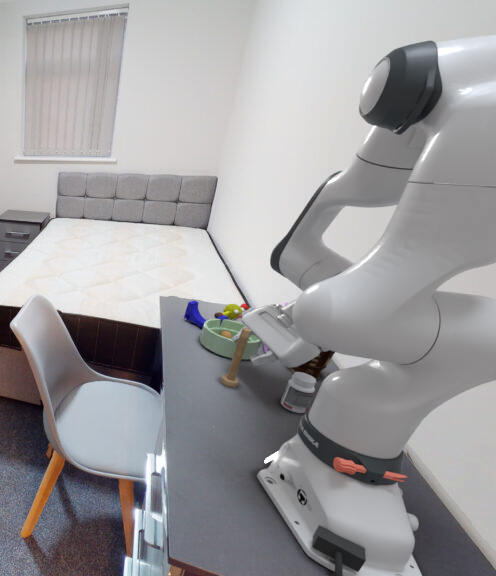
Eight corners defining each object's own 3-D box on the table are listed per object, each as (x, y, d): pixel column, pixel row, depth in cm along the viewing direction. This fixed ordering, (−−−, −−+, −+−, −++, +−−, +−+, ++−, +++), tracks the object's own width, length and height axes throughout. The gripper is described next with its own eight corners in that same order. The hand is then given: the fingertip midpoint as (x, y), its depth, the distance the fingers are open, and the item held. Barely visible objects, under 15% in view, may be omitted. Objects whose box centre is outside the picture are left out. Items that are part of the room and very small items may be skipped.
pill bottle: (310, 415, 84) (323, 384, 81) (286, 412, 85) (299, 381, 81) (298, 401, 88) (310, 372, 85) (276, 398, 89) (287, 369, 86)
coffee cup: (311, 364, 103) (328, 323, 98) (334, 382, 95) (354, 339, 90) (278, 362, 104) (293, 321, 99) (298, 380, 96) (316, 336, 91)
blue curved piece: (225, 332, 118) (231, 316, 116) (216, 335, 117) (222, 319, 114) (192, 314, 128) (197, 299, 125) (183, 317, 126) (188, 302, 124)
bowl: (263, 365, 102) (270, 346, 100) (204, 355, 106) (209, 337, 104) (247, 340, 115) (253, 323, 113) (195, 332, 119) (200, 315, 117)
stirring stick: (238, 389, 92) (257, 334, 86) (222, 385, 93) (240, 331, 87) (235, 380, 95) (253, 327, 89) (219, 377, 96) (236, 324, 90)
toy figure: (222, 332, 119) (228, 313, 117) (205, 324, 124) (210, 306, 121) (252, 320, 128) (258, 302, 125) (236, 314, 132) (241, 296, 129)
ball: (231, 343, 112) (234, 334, 110) (220, 341, 113) (222, 333, 111) (228, 338, 114) (231, 330, 113) (217, 337, 115) (220, 328, 114)
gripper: (269, 293, 94) (218, 323, 99) (322, 331, 76) (255, 366, 81) (283, 310, 95) (231, 339, 101) (338, 352, 77) (271, 385, 82)
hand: (242, 351), depth 91 cm, fingers open, 8 cm apart
